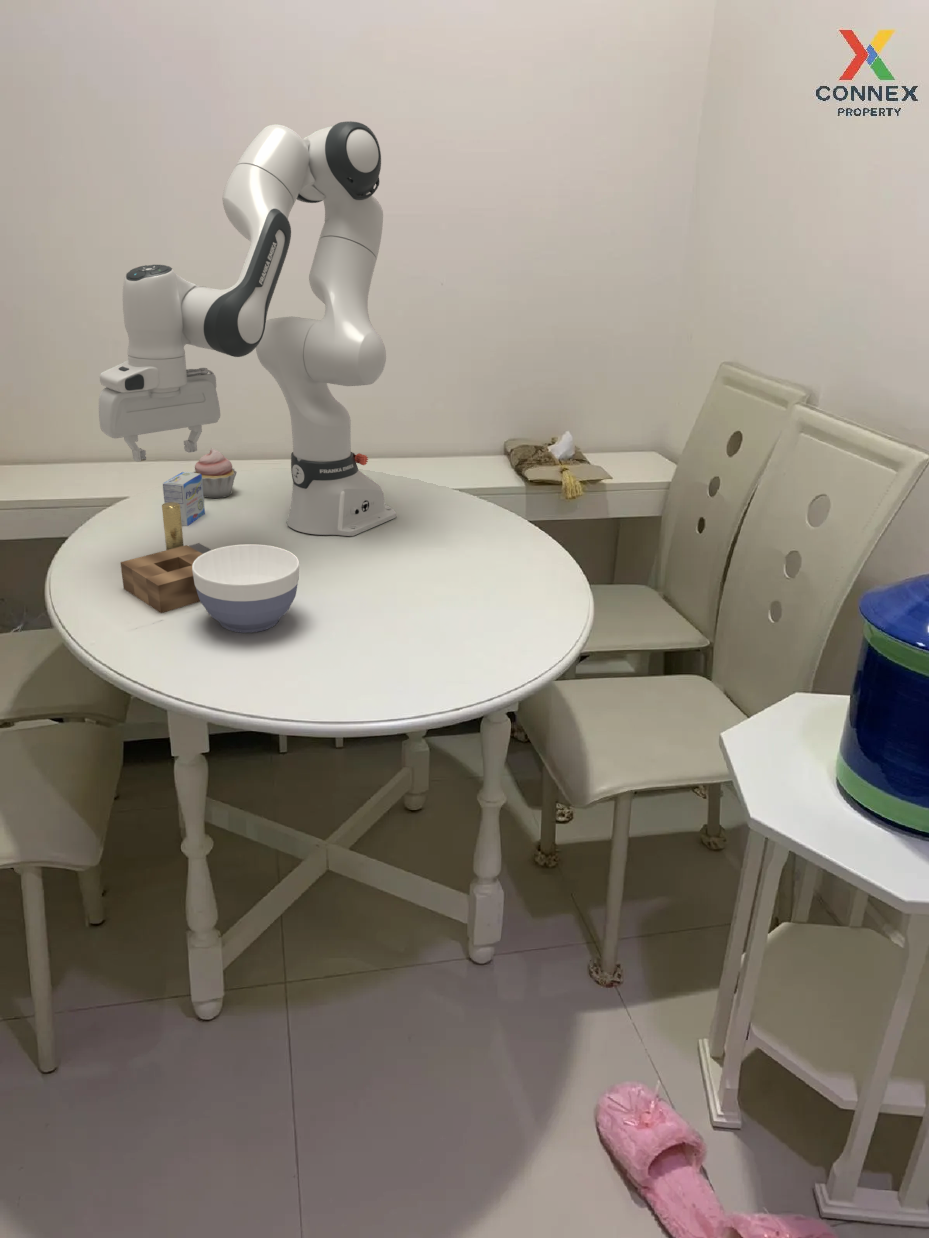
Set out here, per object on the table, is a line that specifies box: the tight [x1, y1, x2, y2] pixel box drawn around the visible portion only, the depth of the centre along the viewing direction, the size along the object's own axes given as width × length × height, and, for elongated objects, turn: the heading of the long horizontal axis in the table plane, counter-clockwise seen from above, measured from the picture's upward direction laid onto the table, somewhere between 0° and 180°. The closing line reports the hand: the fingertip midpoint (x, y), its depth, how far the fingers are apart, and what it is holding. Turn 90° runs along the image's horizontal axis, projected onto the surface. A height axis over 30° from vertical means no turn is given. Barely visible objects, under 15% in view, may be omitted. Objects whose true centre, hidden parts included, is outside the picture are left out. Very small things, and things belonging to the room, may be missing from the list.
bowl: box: [192, 543, 300, 634], centre depth 142 cm, size 16×16×10 cm
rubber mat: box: [188, 542, 212, 554], centre depth 165 cm, size 10×8×1 cm
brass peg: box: [161, 502, 185, 551], centre depth 162 cm, size 3×3×10 cm
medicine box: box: [162, 471, 206, 527], centre depth 180 cm, size 8×4×9 cm, turn 168°
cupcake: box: [192, 447, 238, 499], centre depth 195 cm, size 9×9×10 cm
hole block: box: [120, 544, 202, 614], centre depth 151 cm, size 12×12×5 cm
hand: (165, 455), depth 156 cm, fingers open, 8 cm apart
